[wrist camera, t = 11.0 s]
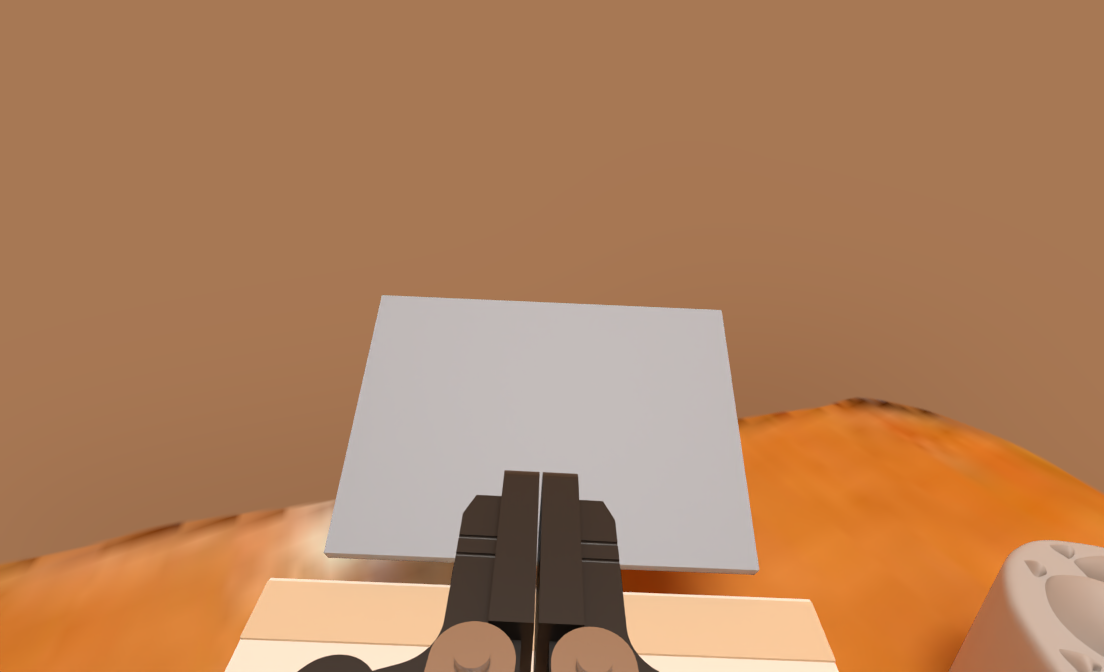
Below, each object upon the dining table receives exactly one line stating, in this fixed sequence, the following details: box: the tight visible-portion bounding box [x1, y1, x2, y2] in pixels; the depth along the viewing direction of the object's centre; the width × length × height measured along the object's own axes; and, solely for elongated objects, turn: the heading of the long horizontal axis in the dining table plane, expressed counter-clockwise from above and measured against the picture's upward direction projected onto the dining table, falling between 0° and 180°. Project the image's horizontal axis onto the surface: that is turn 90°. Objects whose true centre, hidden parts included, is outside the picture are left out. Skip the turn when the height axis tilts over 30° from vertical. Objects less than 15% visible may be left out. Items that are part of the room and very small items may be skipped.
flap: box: [324, 295, 759, 575], centre depth 28 cm, size 16×1×12 cm
